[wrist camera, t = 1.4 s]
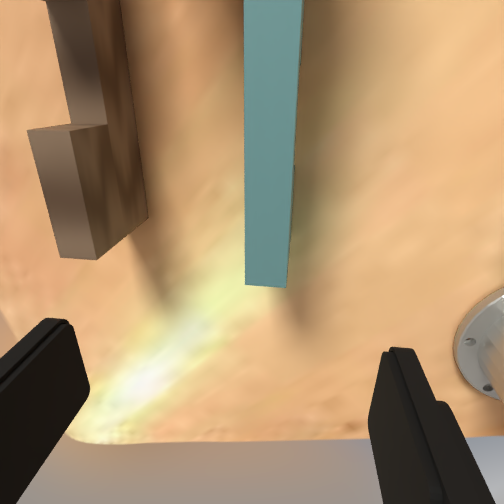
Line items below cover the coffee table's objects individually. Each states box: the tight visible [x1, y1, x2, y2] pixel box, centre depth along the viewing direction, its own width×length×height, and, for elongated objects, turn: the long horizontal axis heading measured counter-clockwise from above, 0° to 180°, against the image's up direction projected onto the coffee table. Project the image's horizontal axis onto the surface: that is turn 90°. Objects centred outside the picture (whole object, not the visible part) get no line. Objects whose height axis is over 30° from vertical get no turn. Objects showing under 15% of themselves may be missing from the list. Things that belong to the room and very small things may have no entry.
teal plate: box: [244, 0, 304, 288], centre depth 20 cm, size 18×2×8 cm, turn 0°
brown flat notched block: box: [27, 0, 148, 260], centre depth 21 cm, size 22×2×8 cm, turn 0°
